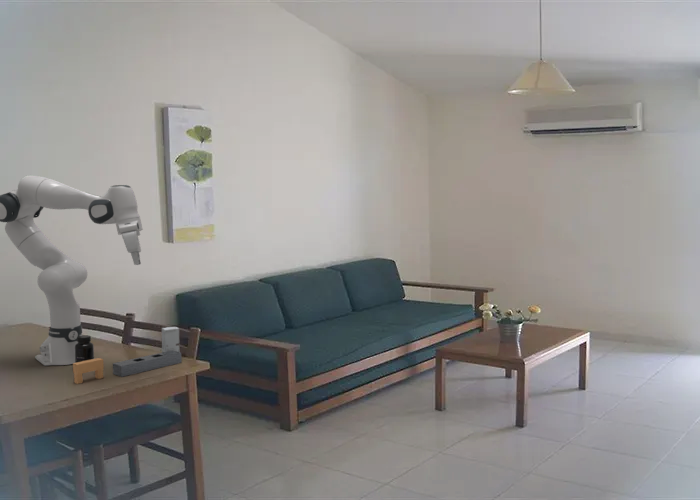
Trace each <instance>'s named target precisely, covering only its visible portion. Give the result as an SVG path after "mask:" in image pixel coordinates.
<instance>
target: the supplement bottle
mask: <svg viewBox="0 0 700 500" xmlns="http://www.w3.org/2000/svg"><path fill="white" fill-rule="evenodd" d="M91 341H92V339H91V335H88V334H87V335H86V334H85V335H83V334H82V336H78V337H77V342H78V343H77V344H76V345H75V363H77V362H82V361H86V360H91V359H95V352H94V351H95V349H94V348H95V347H94V344H93V342H91Z"/></svg>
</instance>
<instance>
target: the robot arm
mask: <svg viewBox="0 0 700 500" xmlns="http://www.w3.org/2000/svg"><path fill="white" fill-rule="evenodd" d="M44 208H45V209H50V210H73V209H74V210H75V209H76V210H78V209H79V210H87V211H88V212H87V213H88V217H89V218H90V220H91V221H92V222H93V223H95V224H98V225H114V224H115V225H116V231H117V234H118V235H119V236H120V235H121V237H122V239H123V242H124V245H125V249H126V251H127V253H130V255H131V259H132V262H133V265H135V266H139V265H141V264H142V263H141V258H140V257H141V256H140V253H141V252H142V249H141V247H142V246H141V244H140V239H139V236H140V235H141V233H140V232H141V231H143V230H144V229H143V225H142V221H141V216H140V214H139V212H138V203H137V198H136V195H135V192H134V190H133V188H132V186H130V185H127V184H118V185H117V184H114V185H111V186H110V187H108V190H106V192H105V193H104V194H102V195H96V194H93V193H90V192H87V191H84V190H80V189H78V188H76V187H74V186H73V187H72V186H70V185H68V184H66V183H64V182H60V181H58V180H55V179H54V178H53V179H52V178H49V177H45V176H41V175H40V176H39V175H31V174H30V175H25V176H23V177H22V178H21V179H20V180H19V182H18V184H17V188H16V189H13V190H11V191H8V192H7V193H3V194H0V222H1V223H5V225H4V230H5V233H6V235H7V237H8V238H9V239H10V241H11V242H12V244H13V245H14V247H16V248H17V250H18V251H19V252H20V253H21V254H22V255H23V256H24V257H25V259H26V260H27V261H28V262H29V263H30V264H31V265H33V266H34V267H37V268H39V269H41V270H42V271H40V272H39V274H38V277H37V286H38V287H39V290H41V291H42V292H43V293H44V295H45V298H46V300H47V304H48V308H49V319H50V320H49V321H50V326H49V327H48V328H49V329H48V336H47V338H46V339H45V340H44V341H43V342H41V345H40V346H39V351H40V354H39V353H38V354H37V355H35V357H34V359H36V360H37V361H38V362H39V363H41V364H42V365H43V366H64V365H65V366H66V365H67V366H68V365H73V363H75V345H76V344H77V343H78V342H77V337H78V336H82V335H83V325H82V323H81V307H80V304H79V303H78V301H77V300H76V298H75V294H74V291H73V290H74V289H76V288H78V287H80V286H81V285H83V284H84V282H85V281H87V278H88V270H87V268H86V266H85V265H84V264H83V263H81V262H79V261H76V260H74V259H73V258H71V256H69V255H68V254H67V253H64V252H63V251H62V250H61V249H60V248H58V247H57V246H56V245H55V244H54V243H53V242H52V241H51V239H50V238H48V237H47V236H46V234H45V233H44V232H43V231H42V229H40V228H39V226H37V225H36V224H35V221H34V219H35V218H39V216H40V214H41V212H42V211H43V209H44Z"/></svg>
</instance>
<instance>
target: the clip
mask: <svg viewBox="0 0 700 500" xmlns="http://www.w3.org/2000/svg"><path fill="white" fill-rule="evenodd" d="M104 365H105V363H104V358H100V357H97V358H94V359H91V360H86V361H82V362H77V363H73V364H72V369H73V371H72V373H73V376H74V377H73V378H74V379H73V380H74V384H76V385H79V384H82V383H83V382H84V380H83V374H86V373H91V372H95V374H94V375H95V376H94V377H95V379H97V380H101V379H104V367H105V366H104Z"/></svg>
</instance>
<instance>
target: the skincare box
mask: <svg viewBox="0 0 700 500" xmlns="http://www.w3.org/2000/svg"><path fill="white" fill-rule="evenodd" d="M171 350H173V351H177V352H180V328H179V327H177V326H169V327H168V326H167V327H161V353H162V352H167V351H171Z"/></svg>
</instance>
